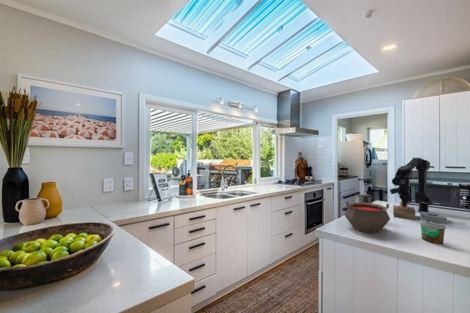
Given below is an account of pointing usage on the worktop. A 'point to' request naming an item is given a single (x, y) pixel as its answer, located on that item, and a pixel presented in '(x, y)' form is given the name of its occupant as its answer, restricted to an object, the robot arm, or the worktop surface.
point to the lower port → (433, 217)
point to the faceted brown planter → (367, 216)
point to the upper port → (404, 212)
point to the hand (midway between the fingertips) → (403, 206)
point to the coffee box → (363, 198)
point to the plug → (402, 206)
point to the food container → (432, 231)
